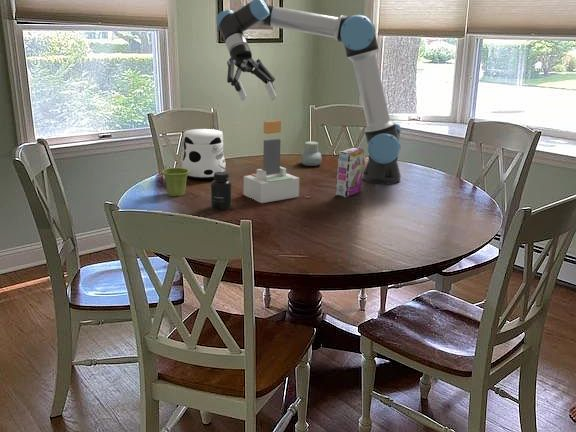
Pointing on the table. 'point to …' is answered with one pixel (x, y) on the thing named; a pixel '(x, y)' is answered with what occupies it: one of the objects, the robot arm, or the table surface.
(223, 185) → the supplement bottle
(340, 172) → the candy bar box
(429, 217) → the table surface
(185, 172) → the plant pot
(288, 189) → the switch box
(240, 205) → the table surface
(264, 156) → the switch lever
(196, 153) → the white black spotted container
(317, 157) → the air freshener
